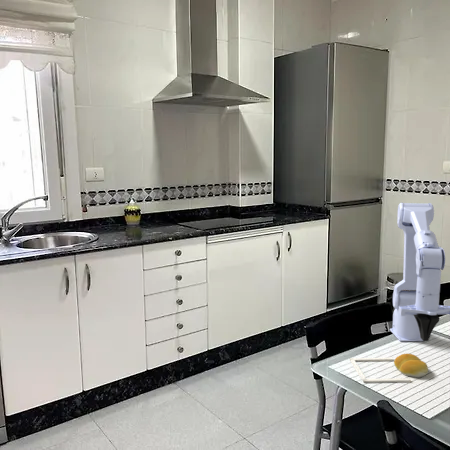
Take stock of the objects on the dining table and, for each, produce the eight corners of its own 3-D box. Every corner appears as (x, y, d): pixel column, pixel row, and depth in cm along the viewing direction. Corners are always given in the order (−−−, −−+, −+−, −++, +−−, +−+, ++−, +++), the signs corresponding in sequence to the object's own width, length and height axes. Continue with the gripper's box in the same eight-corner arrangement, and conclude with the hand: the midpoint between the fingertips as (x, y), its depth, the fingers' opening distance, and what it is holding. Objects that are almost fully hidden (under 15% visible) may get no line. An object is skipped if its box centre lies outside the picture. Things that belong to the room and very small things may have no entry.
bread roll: (407, 380, 122) (407, 366, 121) (389, 364, 130) (390, 351, 130) (434, 377, 123) (435, 363, 122) (415, 361, 132) (416, 348, 131)
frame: (349, 359, 133) (349, 358, 133) (392, 359, 133) (392, 357, 133) (363, 382, 120) (363, 380, 120) (410, 381, 120) (410, 380, 120)
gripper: (406, 297, 118) (403, 346, 120) (462, 296, 118) (458, 345, 120) (396, 288, 125) (393, 335, 127) (449, 288, 125) (445, 334, 127)
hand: (424, 339), depth 124 cm, fingers closed
